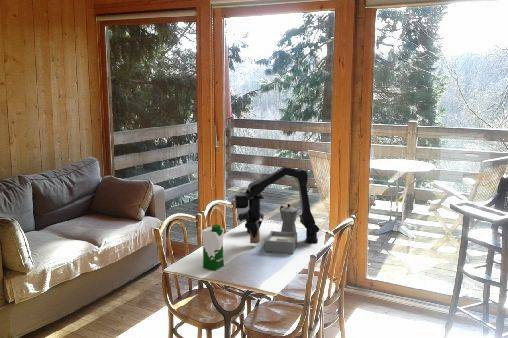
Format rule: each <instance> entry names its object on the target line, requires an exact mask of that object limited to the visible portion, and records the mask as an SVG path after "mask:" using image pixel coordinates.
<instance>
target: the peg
mask: <svg viewBox="0 0 508 338" xmlns="http://www.w3.org/2000/svg"><path fill="white" fill-rule="evenodd" d="M249 237H250V238H249V240H250V241H249V244H256V245H257V244H260V243H259V242H260V228H258V231H257V234H256V236H255V238H253V237H252V233H251V230H250V233H249Z"/></svg>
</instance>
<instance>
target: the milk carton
mask: <svg viewBox="0 0 508 338" xmlns="http://www.w3.org/2000/svg"><path fill="white" fill-rule="evenodd" d="M224 231H225V228H222V227H221V225H220V224H213V225H211V226H209V227H206V228H205V229H202V230H200V233H201V238H202V269H207V270H211V271H214V272H216V271H217V270H219V269H221V268H222V267H225V262H224V233H225V232H224Z"/></svg>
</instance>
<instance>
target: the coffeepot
mask: <svg viewBox="0 0 508 338" xmlns="http://www.w3.org/2000/svg"><path fill="white" fill-rule="evenodd" d="M279 212H280V218H281V221H282V223H281V229H280V232H296V233H297V227H296V220H297V215H298V209H297V207H294V206H293V207H291V204H290V203H287V205H283V204H282V205H280V207H279Z"/></svg>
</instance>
